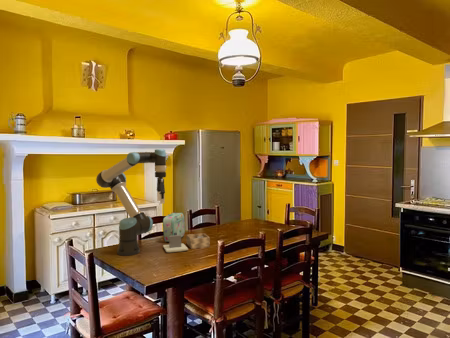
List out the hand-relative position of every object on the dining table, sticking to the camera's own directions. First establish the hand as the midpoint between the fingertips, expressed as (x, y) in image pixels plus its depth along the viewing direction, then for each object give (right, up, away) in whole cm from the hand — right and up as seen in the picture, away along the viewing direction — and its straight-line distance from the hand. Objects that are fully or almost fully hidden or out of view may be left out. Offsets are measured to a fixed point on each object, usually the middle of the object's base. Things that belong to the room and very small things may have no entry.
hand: (160, 202), depth 243 cm
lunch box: (+5, -33, +34) cm, 48 cm away
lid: (+9, -34, +6) cm, 36 cm away
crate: (+25, -34, +17) cm, 45 cm away
